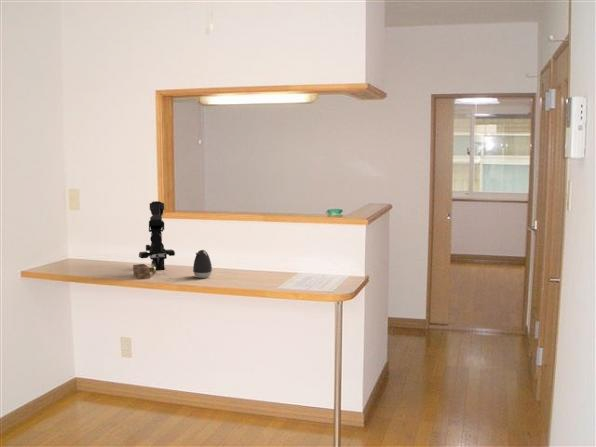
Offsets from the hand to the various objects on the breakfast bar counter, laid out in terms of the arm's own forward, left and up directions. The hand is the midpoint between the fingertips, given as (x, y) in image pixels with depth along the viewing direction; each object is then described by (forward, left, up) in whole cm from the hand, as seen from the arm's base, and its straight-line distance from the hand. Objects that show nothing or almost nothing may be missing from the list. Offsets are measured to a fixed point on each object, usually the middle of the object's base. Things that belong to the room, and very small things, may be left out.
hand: (157, 269), depth 339 cm
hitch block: (+9, 0, -4) cm, 10 cm away
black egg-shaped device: (-20, +17, -4) cm, 27 cm away
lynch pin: (+7, 0, -3) cm, 7 cm away
